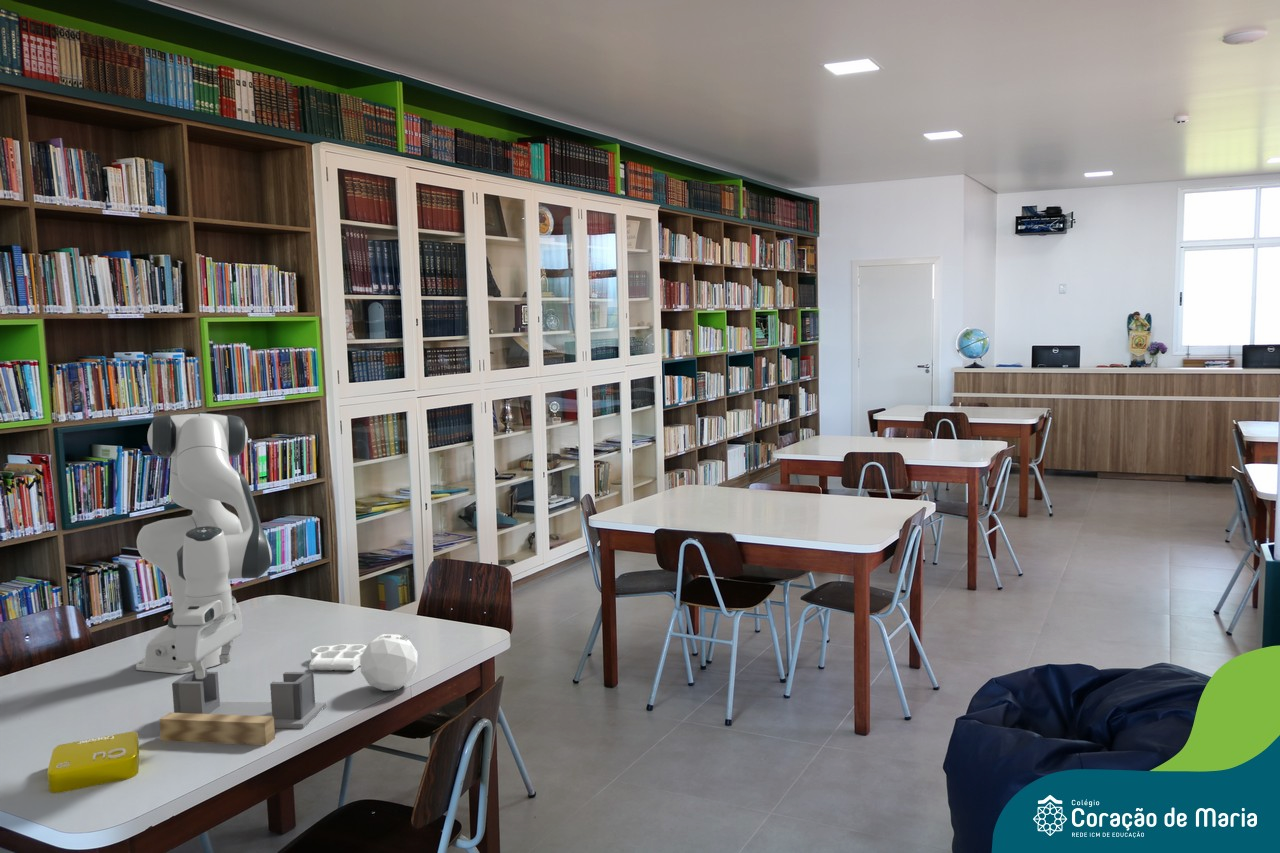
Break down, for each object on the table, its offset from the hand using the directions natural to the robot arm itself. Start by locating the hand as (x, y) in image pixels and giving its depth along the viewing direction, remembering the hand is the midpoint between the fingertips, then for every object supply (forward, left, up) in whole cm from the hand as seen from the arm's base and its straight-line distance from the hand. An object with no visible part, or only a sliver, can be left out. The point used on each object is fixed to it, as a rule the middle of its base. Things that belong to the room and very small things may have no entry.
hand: (213, 669), depth 201 cm
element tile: (-17, -15, -16) cm, 28 cm away
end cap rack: (0, +12, -15) cm, 19 cm away
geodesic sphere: (+27, +30, -15) cm, 43 cm away
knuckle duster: (+8, +48, -16) cm, 51 cm away
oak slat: (0, 0, -15) cm, 15 cm away
